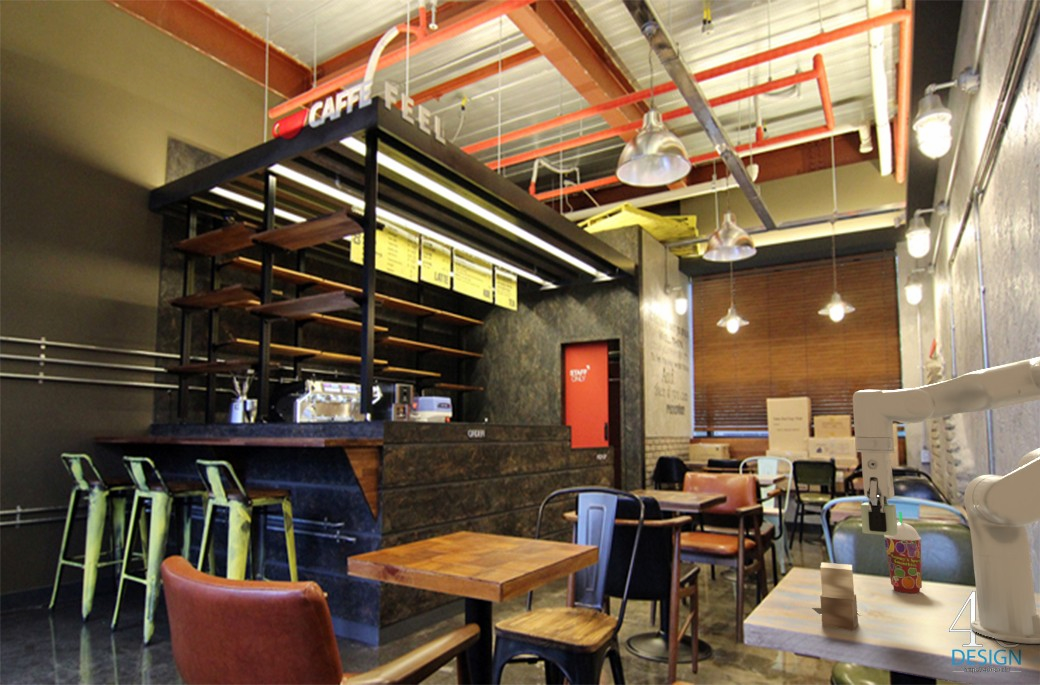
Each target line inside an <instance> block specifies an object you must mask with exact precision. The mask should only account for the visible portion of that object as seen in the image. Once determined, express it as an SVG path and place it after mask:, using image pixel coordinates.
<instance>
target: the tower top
mask: <svg viewBox="0 0 1040 685" xmlns="http://www.w3.org/2000/svg"><path fill="white" fill-rule="evenodd" d="M853 573H854V572H853V564H848V563H847V564H844V563H834V562H833V563H832V562H820V580H821V595H822V597H830V598H839V599H849V600H854V594H855V590H854V575H853Z"/></svg>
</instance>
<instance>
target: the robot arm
mask: <svg viewBox="0 0 1040 685" xmlns="http://www.w3.org/2000/svg"><path fill="white" fill-rule="evenodd" d="M1038 400H1040V356H1037V357H1033V358H1029V359H1024V360H1020V361H1019V360H1018V361H1015V362H1011V363H1010V362H1009V363H1006V364H1002V365H998V366H992V367H988V368H984V369H983V368H982V369H980V370H976V371H971V372H968V373H965V374H963V375H960V376H956V377H955V378H952V379H948V380H944V381H940V382H937V383H933V384H928V385H923V386H920V387H915V388H914V387H913V388H912V387H910V388H909V387H908V388H904V389H903V388H902V389H895V390H882V389H864V390H863V389H862V390H858V391H855V392H854V393H853V394H852V408H853V409H852V410H853V427H854V439H855V453H861V471H862V483H863V492H864V496H865V497H866V499H868V503H869V511H868V516H869V529H870V531H878V532H886V531H887V527H886V513H884V504H889V500H890V499H892V498H894V496H895V488H894V480H893V469H892V462H891V453H892V454H894V453H895V438H894V425H893V424H894V423H893V421H896V422H898V423H900V424H905V425H906V424H907V425H908V424H917V423H923V422H926V421H927V420H931V419H936V418H942V417H946V416H951V415H956V414H962V413H963V414H964V413H976V412H977V413H979V412H984V411H990V410H996V409H1001V408H1005V407H1010V406H1014V405H1019V404H1023V403H1028V402H1034V401H1038ZM963 499H964V507H965V511H966V516H967V519H968V525H969V526H968V527H969V531H970V538H971V547H972V560H973V570H974V571H973V572H974V579H975V590H976V592H975V593H976V601H977V609H978V619H979V620H974V621H972V622H970V629H971V630H972V631H973V632H974V633H976V632H977V633H976V634H978V633H979V634H978V635H980V634H982V635H981V636H983V635H986V636H990V637H994V638H996V639H995V640H998V641H1005V642H1010V643H1017V644H1028V645H1029V644H1030V645H1040V615H1039V612H1038V611H1037V602H1036V596H1035V586H1034V578H1033V570H1032V568H1033V567H1032V560H1031V549H1030V542H1029V537H1028V533H1027V529H1026V526H1029V525H1032V524H1034V523H1037V522H1039V521H1040V447H1038V448H1036V449H1034V450H1031V451H1029V452H1028V453H1026V454H1025V455H1023V456H1022V457H1021V458H1020V459H1019V461H1018V463H1017V466H1016V469H1015V470H1014V471H1011V472H1008V473H1007V474H1006V475H997V474H982V475H980V476H977V477H975V478H974V479H972V480H970V482H969V483H968V485H966V487H965V490H964V496H963ZM986 636H985V637H986Z"/></svg>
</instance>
